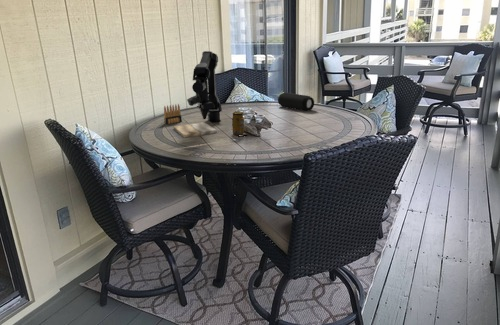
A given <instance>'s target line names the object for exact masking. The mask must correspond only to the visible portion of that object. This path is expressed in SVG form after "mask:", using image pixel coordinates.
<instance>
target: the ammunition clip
mask: <svg viewBox="0 0 500 325" xmlns="http://www.w3.org/2000/svg"><path fill="white" fill-rule="evenodd" d="M163 116H164V117H163V121H164V122H163V123H164V125H171V124H176V123H183V119H182V113H181V106H180V103H177V104H176V103H175V104H172V105H171V104H170V105H169V106H168V104H167V105H164V107H163Z"/></svg>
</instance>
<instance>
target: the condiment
mask: <svg viewBox="0 0 500 325" xmlns="http://www.w3.org/2000/svg"><path fill="white" fill-rule="evenodd" d="M243 115H244V113H243V112H241V111H233V113H232V119H231V120H232V121H231V123H232V125H231V126H232V132H231V134H232V135H234V136H235V137H237V136H239V135H243V134H245V128H244V127H245V124H244V123H245V122H244V116H243Z"/></svg>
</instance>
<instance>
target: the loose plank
mask: <svg viewBox="0 0 500 325" xmlns="http://www.w3.org/2000/svg"><path fill="white" fill-rule="evenodd" d="M188 125H190V126H192V127H193V128H195V129H196V130H198V131H199V132H200V133H201V135H202V136H205V135H204V134H209V135H212V134H211V133H216V134H218V133H217V131H218V130H217V129H216V128H214V127H213V126H211V125H209V124H207V123H206V122H197V123H189V124H188Z"/></svg>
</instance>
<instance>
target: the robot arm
mask: <svg viewBox="0 0 500 325" xmlns="http://www.w3.org/2000/svg"><path fill="white" fill-rule="evenodd" d="M218 62H219V56H218V54H216V53H214V52H213V51H211V50H206V51H205V50H204V51H202V56H201V58H200V62H199V63H198V64H196V65H195V66H194V68H193V73H192V81H195V82H194V83H193V84H192V87H191V88H192V91H193V92H194V93H195V95H193V96H191V97H189V98H186V101H187V103H188V105H189V106H191V107H192V106H195V105H196V104H197V105H196V108H198V109H199V111H200V114H201V116H202V120H206V119H207V121H209V122H210V123H219V122H222V120H221V115H220V113H221V112H223V109H222V104H221V102H220V99H219V97H218V95H217V84H216V69H217V67H218Z"/></svg>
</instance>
